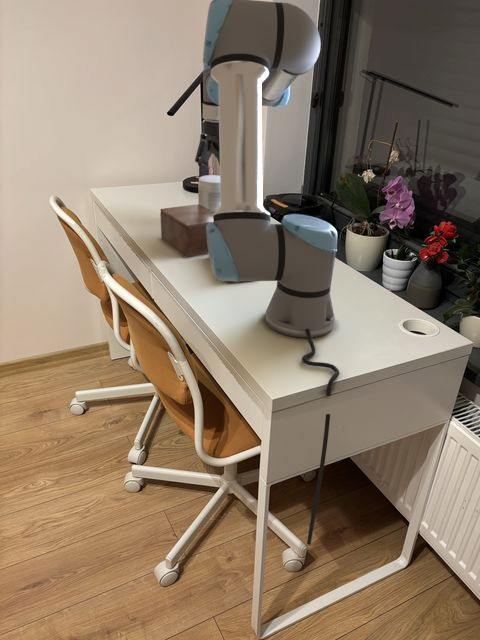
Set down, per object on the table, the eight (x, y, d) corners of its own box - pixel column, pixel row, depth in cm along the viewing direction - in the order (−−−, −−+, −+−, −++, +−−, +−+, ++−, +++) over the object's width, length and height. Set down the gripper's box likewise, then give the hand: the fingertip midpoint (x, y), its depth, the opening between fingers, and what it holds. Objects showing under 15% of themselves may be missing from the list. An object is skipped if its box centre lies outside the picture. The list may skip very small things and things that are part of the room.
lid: (227, 222, 153) (227, 219, 152) (187, 228, 146) (187, 225, 146) (199, 206, 164) (199, 204, 164) (160, 211, 158) (160, 208, 157)
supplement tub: (233, 224, 178) (235, 178, 171) (220, 232, 171) (221, 184, 163) (206, 218, 181) (207, 173, 174) (192, 226, 174) (192, 179, 166)
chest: (225, 250, 158) (226, 222, 153) (185, 257, 151) (185, 228, 147) (199, 233, 168) (199, 206, 164) (161, 239, 162) (160, 211, 158)
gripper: (250, 127, 153) (245, 203, 164) (205, 112, 170) (204, 181, 181) (226, 129, 149) (224, 206, 161) (184, 113, 166) (184, 183, 178)
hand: (213, 193), depth 171 cm, fingers open, 13 cm apart
